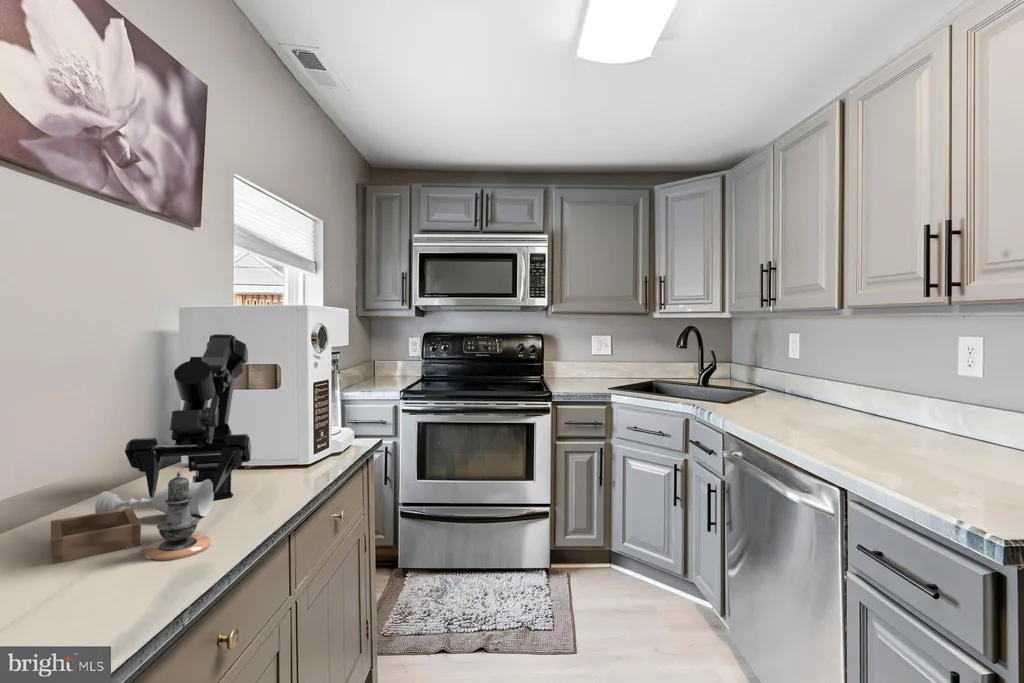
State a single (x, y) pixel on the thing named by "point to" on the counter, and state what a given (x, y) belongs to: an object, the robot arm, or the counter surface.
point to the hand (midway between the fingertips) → (183, 494)
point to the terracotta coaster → (158, 554)
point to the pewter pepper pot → (178, 517)
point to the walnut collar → (94, 534)
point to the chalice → (162, 500)
